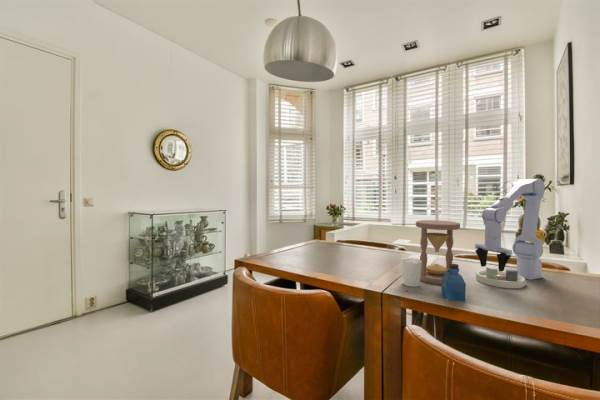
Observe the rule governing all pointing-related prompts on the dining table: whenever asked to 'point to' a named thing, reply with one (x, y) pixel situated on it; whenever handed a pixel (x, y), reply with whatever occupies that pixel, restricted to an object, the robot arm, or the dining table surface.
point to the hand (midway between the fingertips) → (492, 268)
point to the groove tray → (500, 280)
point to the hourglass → (437, 240)
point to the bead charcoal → (511, 275)
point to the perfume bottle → (453, 284)
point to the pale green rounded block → (491, 273)
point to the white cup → (411, 271)
